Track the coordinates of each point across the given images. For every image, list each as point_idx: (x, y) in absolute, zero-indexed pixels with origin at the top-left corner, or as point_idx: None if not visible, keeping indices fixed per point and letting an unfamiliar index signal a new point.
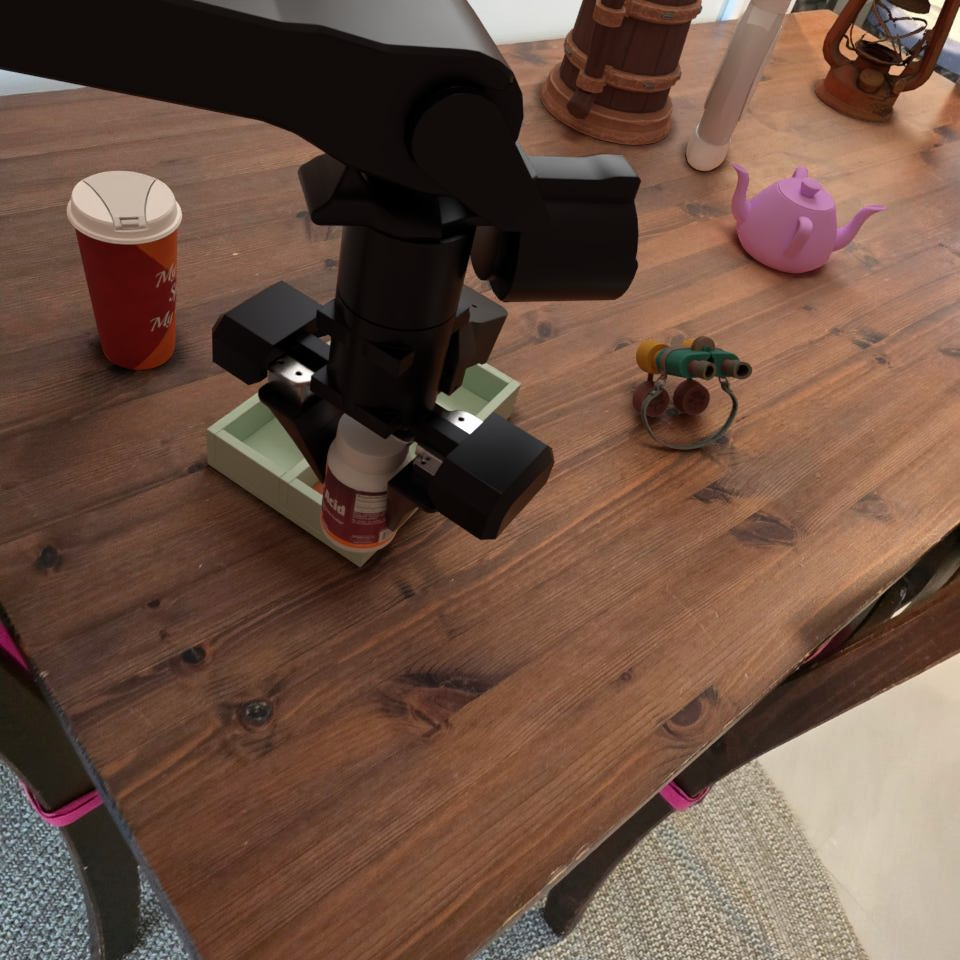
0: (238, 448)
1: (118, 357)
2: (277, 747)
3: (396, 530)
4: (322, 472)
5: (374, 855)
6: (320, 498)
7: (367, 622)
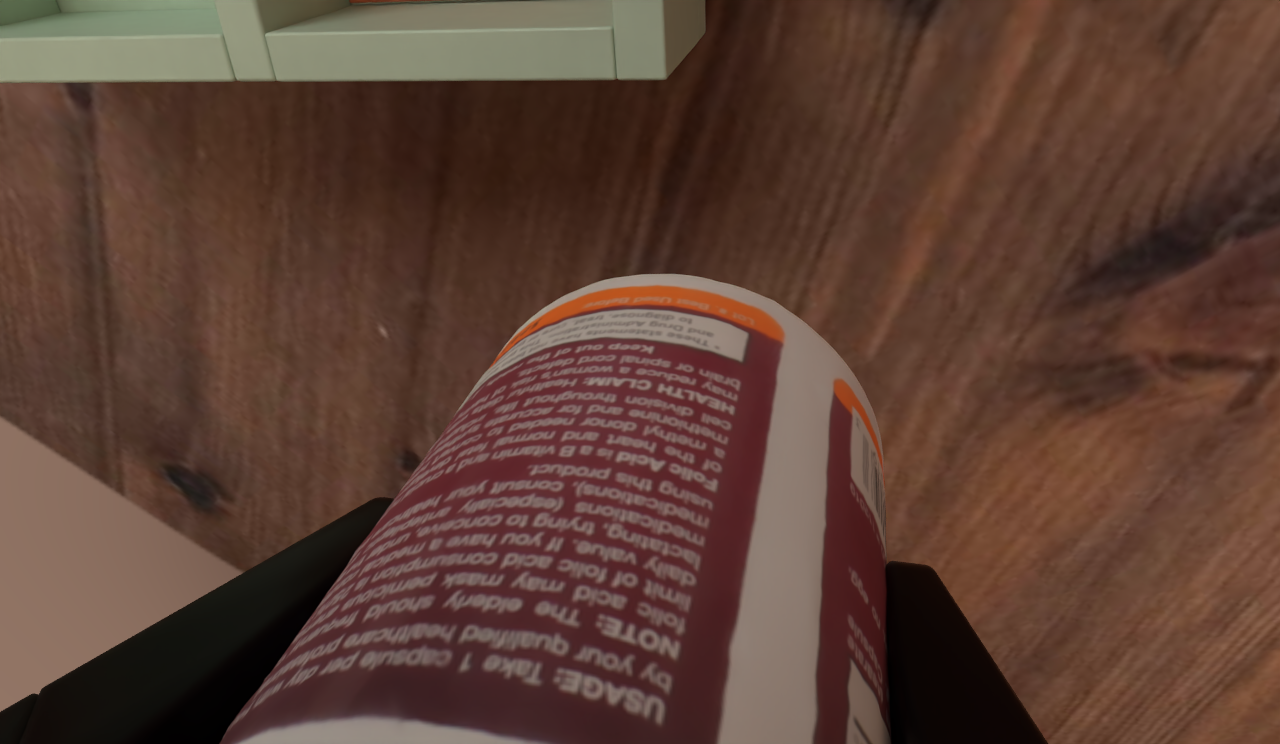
0: (45, 75)
1: None
2: None
3: (879, 447)
4: None
5: (1230, 675)
6: (402, 50)
7: (862, 199)
